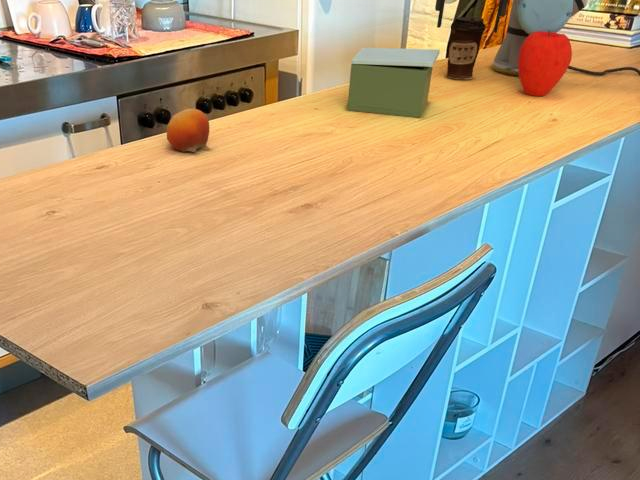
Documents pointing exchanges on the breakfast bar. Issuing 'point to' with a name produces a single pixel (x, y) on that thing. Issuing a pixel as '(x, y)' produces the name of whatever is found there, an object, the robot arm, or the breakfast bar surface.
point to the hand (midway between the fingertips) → (466, 29)
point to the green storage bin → (389, 89)
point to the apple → (543, 61)
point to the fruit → (188, 130)
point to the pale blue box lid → (396, 57)
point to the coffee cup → (464, 46)
